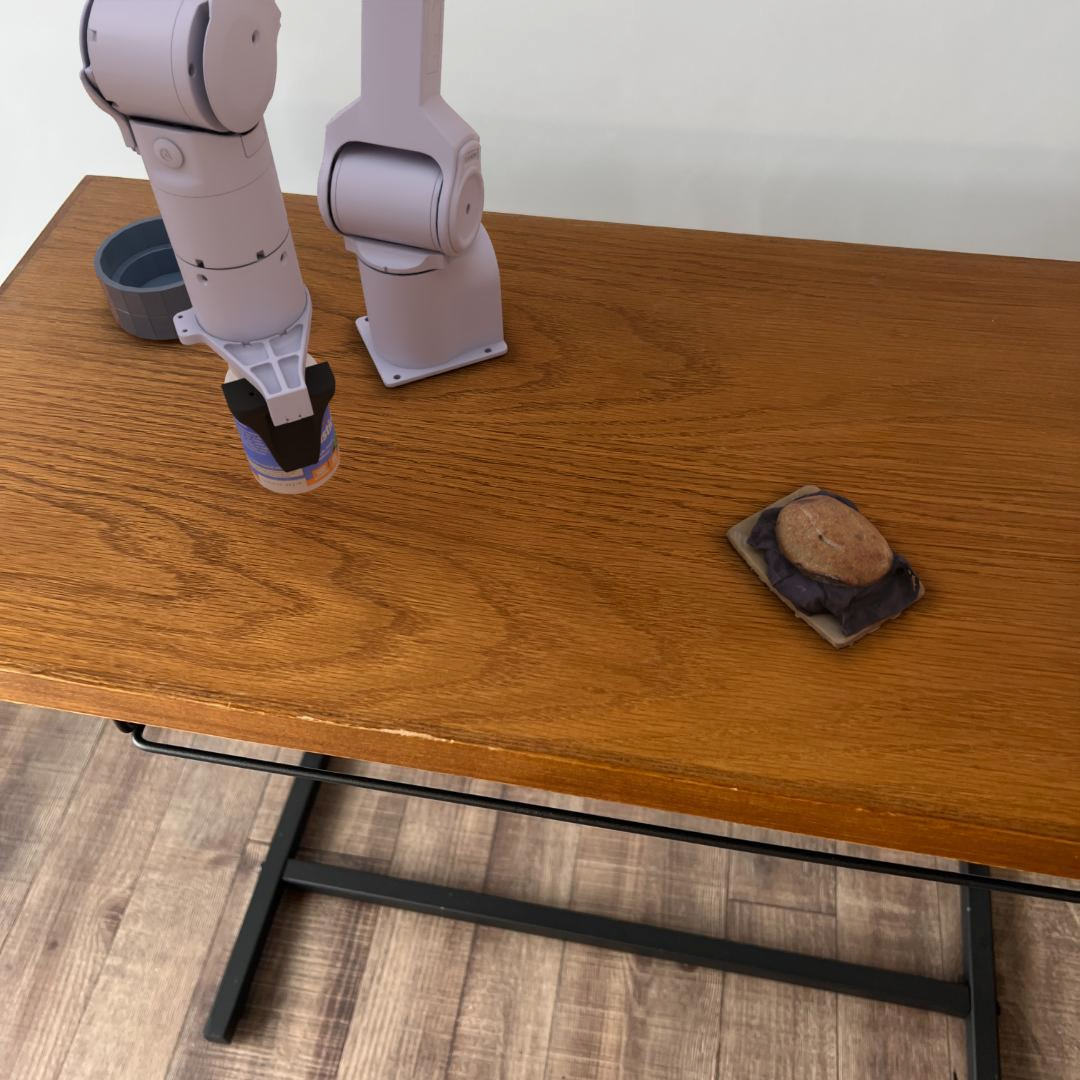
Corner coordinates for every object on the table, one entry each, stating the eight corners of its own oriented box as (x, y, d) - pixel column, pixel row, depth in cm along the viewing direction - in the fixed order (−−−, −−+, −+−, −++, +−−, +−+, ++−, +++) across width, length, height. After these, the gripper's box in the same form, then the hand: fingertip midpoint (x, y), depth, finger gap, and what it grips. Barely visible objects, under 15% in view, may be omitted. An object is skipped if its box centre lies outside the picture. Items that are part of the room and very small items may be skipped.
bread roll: (716, 540, 69) (722, 502, 66) (817, 485, 71) (827, 446, 68) (830, 658, 63) (842, 622, 60) (935, 593, 66) (952, 556, 63)
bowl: (223, 256, 88) (207, 202, 84) (250, 325, 83) (235, 271, 79) (106, 286, 86) (85, 232, 82) (126, 358, 80) (104, 305, 77)
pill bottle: (334, 498, 64) (302, 376, 56) (243, 496, 64) (200, 374, 57) (347, 432, 67) (319, 308, 60) (262, 431, 68) (223, 307, 60)
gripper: (123, 176, 56) (194, 371, 67) (178, 346, 48) (249, 538, 58) (256, 145, 58) (304, 340, 68) (332, 304, 49) (374, 498, 60)
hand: (287, 429), depth 64 cm, fingers closed on pill bottle, 5 cm apart
